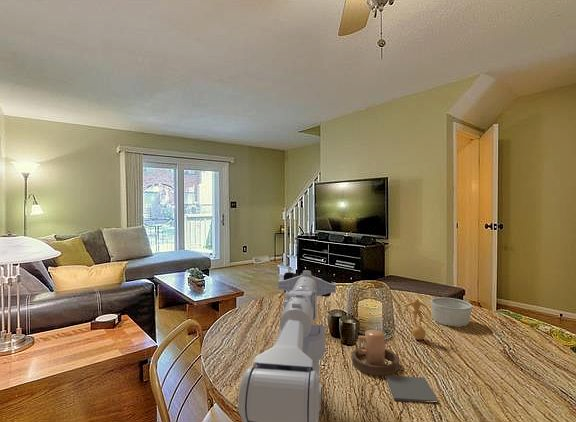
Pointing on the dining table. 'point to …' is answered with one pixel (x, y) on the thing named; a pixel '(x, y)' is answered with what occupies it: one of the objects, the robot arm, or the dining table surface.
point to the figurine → (418, 330)
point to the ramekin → (451, 311)
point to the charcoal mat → (410, 388)
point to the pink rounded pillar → (373, 347)
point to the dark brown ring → (374, 368)
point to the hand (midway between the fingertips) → (309, 277)
